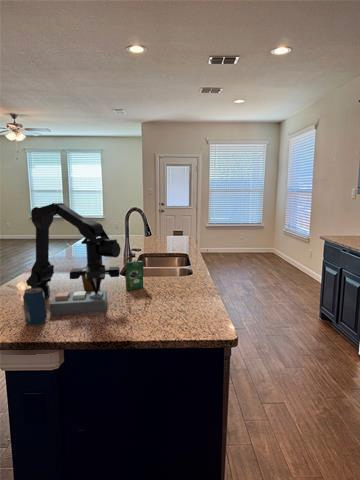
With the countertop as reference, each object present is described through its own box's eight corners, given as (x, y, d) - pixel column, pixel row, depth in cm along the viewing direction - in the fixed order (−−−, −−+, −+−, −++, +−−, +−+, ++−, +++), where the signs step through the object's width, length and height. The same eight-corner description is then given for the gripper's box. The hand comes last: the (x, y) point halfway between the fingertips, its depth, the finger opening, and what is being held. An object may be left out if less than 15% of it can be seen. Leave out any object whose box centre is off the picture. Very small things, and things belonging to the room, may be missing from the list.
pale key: (73, 305, 122) (72, 295, 122) (75, 301, 127) (74, 291, 126) (85, 304, 123) (84, 294, 122) (86, 300, 127) (86, 291, 127)
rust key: (56, 306, 121) (55, 296, 121) (58, 302, 126) (57, 292, 125) (67, 305, 122) (67, 295, 121) (69, 301, 126) (69, 292, 126)
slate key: (90, 305, 124) (90, 295, 123) (92, 301, 128) (91, 291, 127) (102, 304, 124) (101, 295, 124) (103, 300, 128) (102, 291, 128)
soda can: (49, 317, 116) (47, 286, 114) (42, 326, 109) (39, 293, 107) (30, 318, 116) (27, 286, 114) (22, 326, 109) (18, 293, 107)
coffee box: (141, 286, 151) (141, 259, 149) (144, 287, 149) (143, 261, 147) (125, 288, 147) (125, 261, 145) (128, 290, 145) (127, 263, 143)
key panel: (50, 315, 118) (49, 304, 117) (57, 303, 130) (56, 293, 129) (105, 311, 121) (104, 300, 120) (107, 300, 133) (106, 290, 132)
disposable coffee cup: (80, 299, 135) (79, 272, 132) (81, 291, 144) (80, 266, 141) (103, 297, 137) (102, 270, 135) (103, 290, 146) (101, 265, 144)
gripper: (65, 261, 113) (68, 302, 116) (118, 259, 116) (119, 299, 119) (70, 254, 124) (73, 292, 127) (118, 252, 127) (120, 289, 130)
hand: (96, 293), depth 125 cm, fingers closed, pressing on slate key
